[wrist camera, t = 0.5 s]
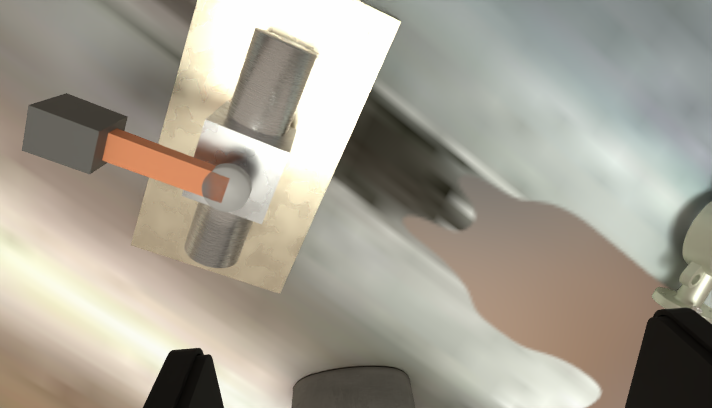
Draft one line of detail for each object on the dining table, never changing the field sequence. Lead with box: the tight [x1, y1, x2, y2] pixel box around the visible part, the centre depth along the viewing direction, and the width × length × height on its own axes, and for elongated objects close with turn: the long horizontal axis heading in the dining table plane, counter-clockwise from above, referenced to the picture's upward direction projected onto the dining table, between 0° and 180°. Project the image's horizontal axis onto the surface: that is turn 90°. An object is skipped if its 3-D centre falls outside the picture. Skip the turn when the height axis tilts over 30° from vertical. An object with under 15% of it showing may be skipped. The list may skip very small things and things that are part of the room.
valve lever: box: [22, 93, 252, 212], centre depth 29 cm, size 14×3×4 cm, turn 66°
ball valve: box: [131, 0, 401, 293], centre depth 36 cm, size 30×16×12 cm, turn 156°
